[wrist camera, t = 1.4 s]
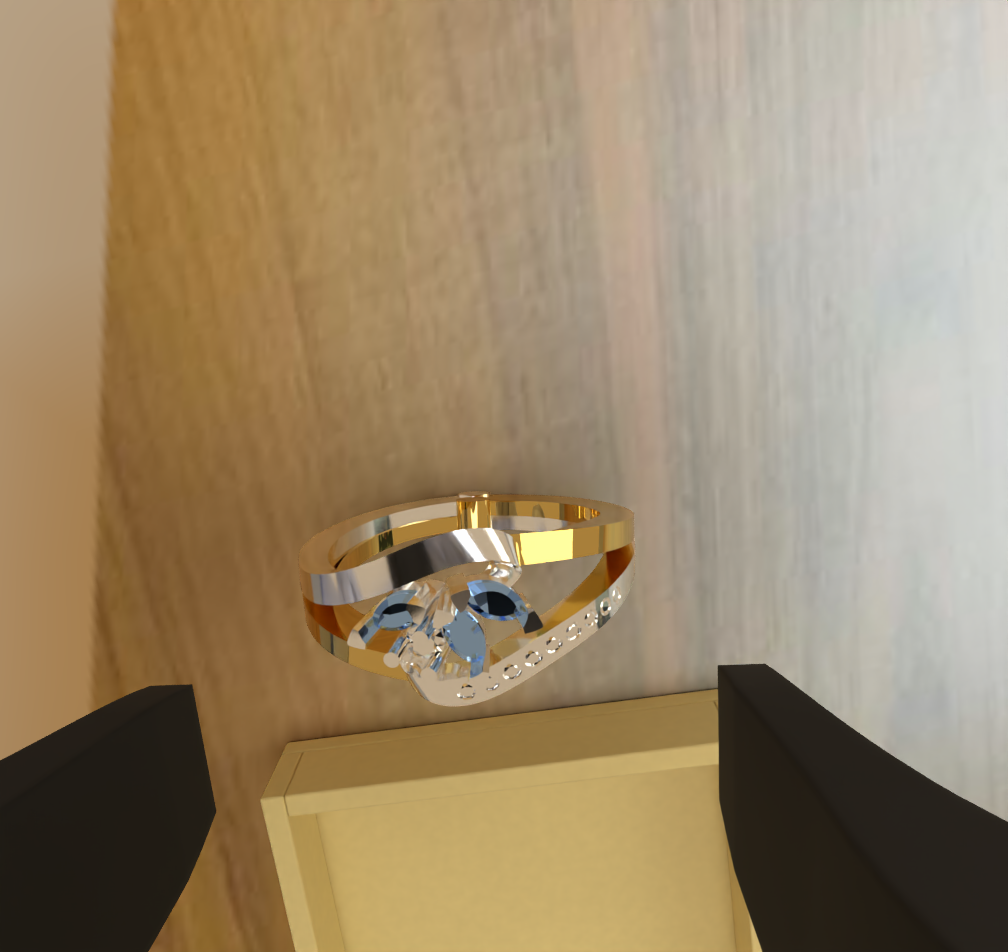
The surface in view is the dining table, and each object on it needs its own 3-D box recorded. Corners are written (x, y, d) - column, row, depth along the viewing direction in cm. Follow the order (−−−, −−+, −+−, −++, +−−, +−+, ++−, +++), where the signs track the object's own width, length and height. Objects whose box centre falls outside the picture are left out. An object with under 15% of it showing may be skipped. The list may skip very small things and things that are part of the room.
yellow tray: (364, 1095, 25) (348, 1185, 23) (286, 741, 23) (258, 799, 20) (760, 1050, 25) (789, 1138, 22) (730, 686, 22) (759, 737, 20)
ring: (344, 571, 21) (251, 734, 14) (334, 450, 21) (230, 550, 13) (611, 562, 21) (672, 720, 14) (611, 440, 21) (674, 534, 13)
